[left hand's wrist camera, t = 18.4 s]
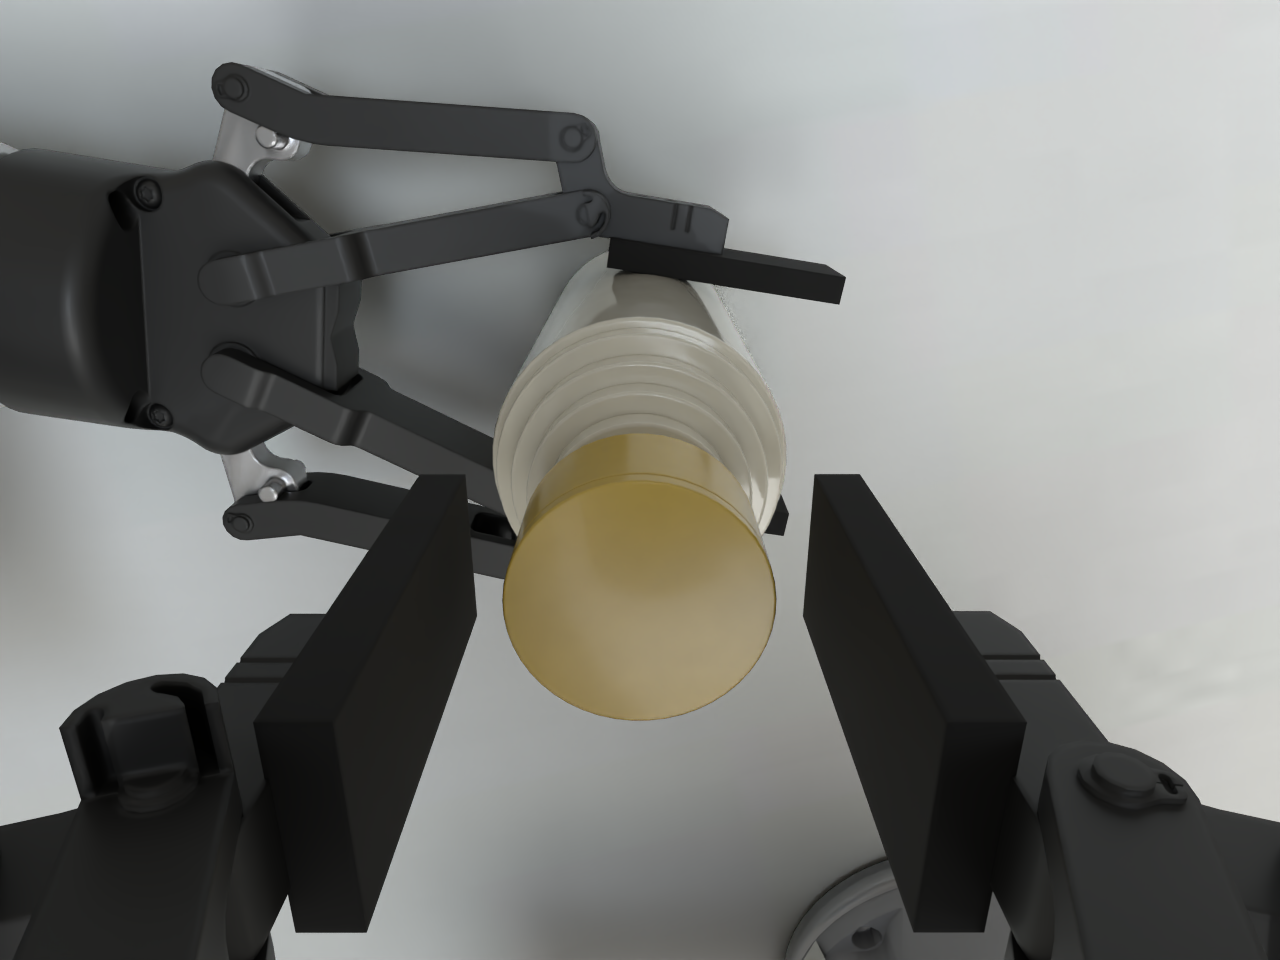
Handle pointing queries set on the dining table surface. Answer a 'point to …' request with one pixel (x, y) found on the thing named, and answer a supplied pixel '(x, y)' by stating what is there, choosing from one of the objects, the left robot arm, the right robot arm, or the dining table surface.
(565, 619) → the cap
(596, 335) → the bottle
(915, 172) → the dining table surface
